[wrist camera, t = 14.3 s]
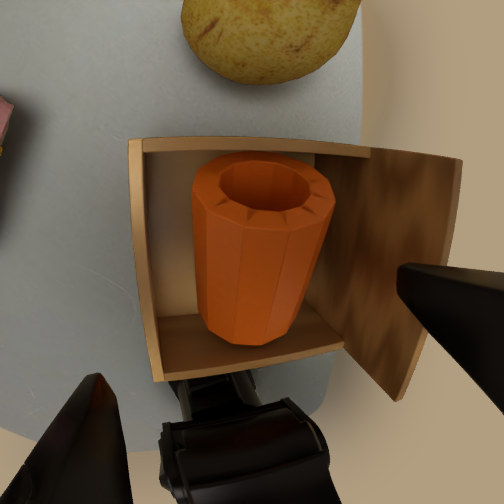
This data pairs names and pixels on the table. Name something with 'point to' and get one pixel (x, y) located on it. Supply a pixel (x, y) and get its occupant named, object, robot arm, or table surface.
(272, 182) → the orange octagonal cup
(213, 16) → the fruit
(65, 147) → the table surface
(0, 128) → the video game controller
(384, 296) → the pine crate
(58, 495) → the robot arm
